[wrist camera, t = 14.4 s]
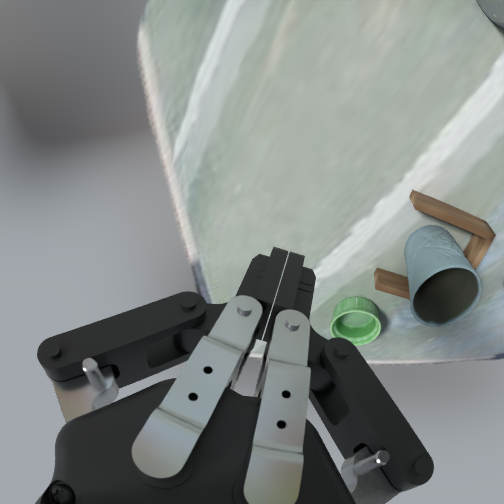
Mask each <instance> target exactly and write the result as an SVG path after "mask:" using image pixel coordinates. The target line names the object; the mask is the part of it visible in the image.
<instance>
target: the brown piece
mask: <svg viewBox="0 0 504 504" xmlns="http://www.w3.org/2000/svg"><path fill="white" fill-rule="evenodd" d="M410 199H411V202H412V204H413V206H414V208H415V210H418V211H421V212H423V213H426V214H428V215H431V216H433V217H436V218H438V219H441V220H443V221H446V222H448V223H451V224H453V225H455V226H458V227H460V228H463V229H465V230H467V231H469V232H472V233H474V234H473V236H472V237H471V239H470V241H469V243H468V245H467V247H466V248H465V250H464V252H463V254H464V255H465V258H467V259H468V261H469V262H470V264H471V265H472V267H473V268H474V270H476V268H477V267H478V265H479V263H480V262H481V260H482V258H483V257H484V255H485V253H486V252H487V250H488V248H489V246H490V245H491V243H492V241H493V239H494V237H495V236H496V235H495V233H494V232H493V230H492V229H491V227H490V226H489V225H488V223H487V222H486V221H484V220H482V219H480V218H478V217H475V216H473V215H471V214H469V213H467V212H464V211H462V210H460V209H458V208H456V207H453V206H451V205H449V204H446V203H444V202H442V201H439V200H437V199H434V198H432V197H429V196H427V195H425V194H422V193H419V192H417V191H414V190H412V192H411V194H410ZM374 277H375V289H376V290H380V291H383V292H386V293H390V294H393V295H396V296H400V297H403V298H407V299H410V292H409V282H408V277H405V276H402V275H399V274H395V273H392V272H389V271H386V270H383V269H379V268H377V269H376V271H375V273H374Z"/></svg>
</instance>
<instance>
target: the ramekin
mask: <svg viewBox="0 0 504 504" xmlns="http://www.w3.org/2000/svg"><path fill="white" fill-rule="evenodd" d="M380 331H381V323H380V320H379V316H378V310H377V307H376V306H375V304H374V303H373V302H372V301H370V300H369V299H367V298H363V297H350V298H347V299H345V300H343V301H341V302H340V303H339V304H338V305H337V306H336V308H335V311H334V316H333V320H332V322H331V325H330V332H331V334H332V336H333V337H341V338H345V339H347V340H349V341H350V342H352V343H353V344H354V345H355V346H359V345H364V344H367V343H369V342H371V341H373V340H374V339H375V338H376V337H377V336H378V335H379V333H380Z"/></svg>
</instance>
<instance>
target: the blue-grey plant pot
mask: <svg viewBox="0 0 504 504" xmlns="http://www.w3.org/2000/svg"><path fill="white" fill-rule="evenodd" d="M404 254H405V261H406V267H407V274H408V282H409V292H410V306H411V311H412V314H413V316H414V317H415V318H416V319H417V320H418V321H419V322H421V323H423V324H425V325H428V326H434V327H440V326H446V325H450V324H453V323H455V322H457V321H459V320H461V319H462V318H463V317H465V316H466V315H467V314H469V313H470V312H471V311H472V310H473V308H474V307H475V306H476V304H477V302H478V301H479V298H480V295H481V281H480V278H479V276H478V274H477V273H476V271H475V270H474V268H473V267H472V265H471V264H470V262H469V261H468V259H467V258H465V255H464V254H463V252H462V251H461V249H460V248H459V246H458V245H457V244H456V243H455V240H454V239H453V237H452V236H451V235H450V233H449V232H448V231H447V230H445V229H444V228H442V227H440V226H436V225H428V226H424V227H421V228H419V229H418V230H416V231H415V232H414V233H412V234H411V235H410V237H409V238H408V240H407V242H406V246H405V251H404Z"/></svg>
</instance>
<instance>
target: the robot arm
mask: <svg viewBox="0 0 504 504" xmlns="http://www.w3.org/2000/svg"><path fill="white" fill-rule="evenodd" d="M477 1H478V4H479V5H480V7H481V9H482V10H483V11H484V13H485V14H486V15H487V16H488V17H489V18H490V19H491V20H492V21H493V22H494V23H495V24H497V25H498V26H500V27H502V28H504V0H477ZM287 255H288V251H286V250H283V249H280V248H276V247H273V250H272V252H271V255H270V257H268V256H265V255H262V254H259V255H257V256H256V257H255V258H253V259H252V261H251V263H250V265H249V268H248V270H247V272H246V274H245V276H244V279H243V281H242V283H241V285H240V288H239V290H238V292H237V294H236V296H235V297H233V298H232V299H230V300H229V302H227V303H224V304H207V303H206V301H205V299H204V298H203V297H202V296H201V295H199V294H197V293H195V292H181V293H178V294H175V295H173V296H170V297H167V298H164V299H161V300H158V301H156V302H152V303H149V304H147V305H144V306H141V307H138V308H135V309H132V310H129V311H127V312H123V313H121V314H118V315H115V316H112V317H109V318H106V319H103V320H100V321H97V322H94V323H92V324H89V325H85V326H82V327H80V328H77V329H74V330H71V331H68V332H65V333H62V334H59V335H56V336H53V337H50V338H48V339H46V340H45V341H43V342H42V343H41V345H40V346H39V348H38V353H37V357H38V360H39V362H40V364H41V365H42V367H43V368H44V370H45V371H46V374H47V375H48V377H49V378H50V380H51V381H52V383H53V385H54V388H55V391H56V395H57V398H58V401H59V404H60V407H61V410H62V412H63V416H64V418H65V421H66V424H65V425H64V426H63V427H62V429H61V430H60V432H59V434H58V436H57V439H56V444H55V469H54V474H53V478H52V481H51V483H50V485H49V486H48V488H47V489H46V490H45V492H44V493H43V494H42V496H41V497H40V498H39V499H38V500H37V502H36V503H35V504H385V503H386V502H388V501H389V500H391V499H392V498H393V497H394V496H396V495H397V494H399V493H401V492H404V491H407V490H409V489H412V488H415V487H417V486H420V485H422V484H424V483H426V482H427V481H428V480H429V479H430V478H431V476H432V474H433V470H434V464H433V460H432V458H431V457H430V455H429V453H428V452H427V450H426V449H425V447H424V446H423V444H422V443H421V441H420V440H419V438H418V437H417V435H416V434H415V432H414V431H413V429H412V428H411V426H410V425H409V423H408V422H407V420H406V419H405V417H404V416H403V415H402V413H401V411H400V410H399V408H398V407H397V406H396V404H395V403H394V401H393V400H392V398H391V397H390V395H389V394H388V392H387V391H386V390H385V388H384V387H383V385H382V384H381V382H380V381H379V379H378V378H377V377H376V375H375V374H374V372H373V371H372V369H371V368H370V367H369V365H368V364H367V362H366V361H365V359H364V358H363V357H362V355H361V354H360V352H359V351H358V350H357V348H356V347H355V345H354V344H353V343H352V342H350V341H349V340H347V339H345V338H341V337H334V338H331V339H330V340H327V339H326V338H324V337H322V336H320V335H319V334H318V333H316V332H315V331H314V330H313V328H312V327H311V325H310V321H309V316H310V311H311V305H312V299H313V293H314V286H315V280H316V277H315V274H314V272H313V270H312V269H309V268H306V267H303V262H304V258H305V256H303V255H300V254H297V253H293V252H290V253H289V256H288V260H287V263H286V266H285V270H284V273H283V276H282V280H281V283H280V286H279V289H278V293H277V296H276V299H275V303H274V306H273V309H272V312H271V316H270V319H269V322H268V325H267V328H266V332H265V335H264V338H263V341H266V342H267V344H266V347H265V351H264V353H263V356H262V361H261V365H260V370H259V375H258V379H257V384H256V389H255V393H254V396H253V397H250V396H242V395H240V394H238V393H237V392H235V391H234V388H235V386H236V384H237V381H238V379H239V377H240V375H241V373H242V371H243V368H244V366H245V364H246V362H247V360H248V358H249V355H250V353H251V350H252V349H253V348H254V345H255V342H256V339H259V340H261V339H262V336H263V333H264V330H265V327H266V323H267V320H268V317H269V314H270V311H271V308H272V304H273V301H274V298H275V295H276V291H277V288H278V285H279V282H280V278H281V275H282V272H283V268H284V265H285V262H286V258H287ZM187 360H188V361H187ZM185 361H187V363H186V364H185V366H184V367H183V369H182V371H181V372H180V374H179V376H178V377H177V378H173V379H168V380H164V381H161V382H158V383H156V384H154V385H152V386H150V387H147V388H145V389H143V390H141V391H139V392H136V393H134V394H132V395H130V396H127V397H125V398H123V399H120V400H118V401H116V402H113V401H114V400H115V399H116V398H117V396H118V393H119V388H122V387H124V386H127V385H129V384H132V383H135V382H137V381H140V380H142V379H144V378H147V377H149V376H152V375H154V374H157V373H159V372H162V371H164V370H166V369H169V368H171V367H173V366H176V365H178V364H180V363H183V362H185ZM308 397H309V399H310V401H311V402H312V404H313V406H314V408H315V409H316V411H317V413H318V415H319V416H320V418H321V420H322V421H323V423H324V425H325V427H326V428H327V430H328V432H329V433H330V435H331V437H332V439H333V440H334V442H335V444H336V445H337V447H338V449H339V450H340V452H341V454H342V455H343V457H344V459H345V461H344V462H343V465H342V467H341V474H342V477H343V478H342V477H341V474H340V473H339V471H338V469H337V467H336V465H335V463H334V461H333V460H332V458H331V456H330V454H329V452H328V450H327V448H326V447H325V444H324V443H323V441H322V439H321V437H320V435H319V434H318V431H317V430H316V428H315V427H314V426H313V425H312V424H311V423H310V421H308V420H307V419H306V415H307V405H308ZM112 402H113V403H112ZM110 403H111V404H110ZM108 404H109V405H108Z"/></svg>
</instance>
